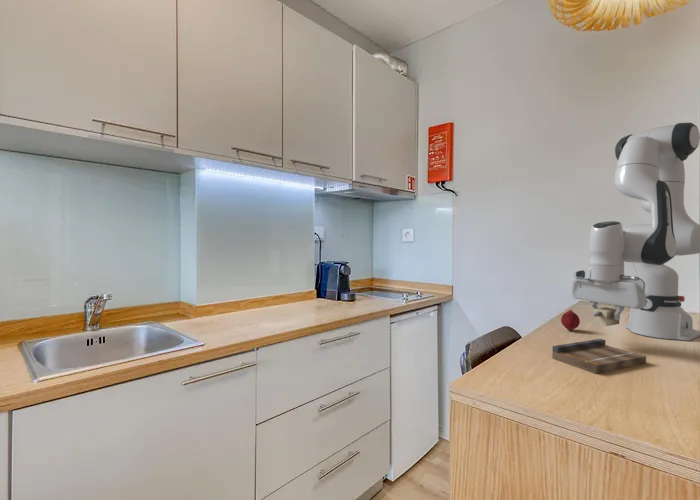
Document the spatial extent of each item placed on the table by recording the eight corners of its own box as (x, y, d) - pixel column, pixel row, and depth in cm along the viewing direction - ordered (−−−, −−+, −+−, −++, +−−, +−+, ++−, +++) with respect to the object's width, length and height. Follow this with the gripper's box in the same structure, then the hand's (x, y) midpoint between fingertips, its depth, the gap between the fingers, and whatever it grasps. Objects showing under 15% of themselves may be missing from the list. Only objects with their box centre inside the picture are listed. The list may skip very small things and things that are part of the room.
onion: (582, 333, 123) (582, 310, 123) (564, 332, 124) (565, 310, 124) (575, 329, 129) (575, 307, 128) (558, 328, 130) (558, 307, 130)
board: (600, 350, 104) (600, 338, 104) (646, 363, 93) (646, 350, 93) (552, 358, 97) (552, 346, 97) (596, 373, 86) (596, 360, 86)
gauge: (609, 320, 112) (610, 306, 111) (623, 323, 108) (623, 308, 108) (588, 324, 108) (588, 309, 108) (602, 327, 104) (602, 312, 104)
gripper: (651, 276, 99) (651, 324, 99) (581, 270, 118) (581, 310, 118) (637, 278, 96) (637, 326, 97) (568, 271, 115) (568, 312, 116)
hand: (606, 317), depth 108 cm, fingers closed on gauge, 4 cm apart
